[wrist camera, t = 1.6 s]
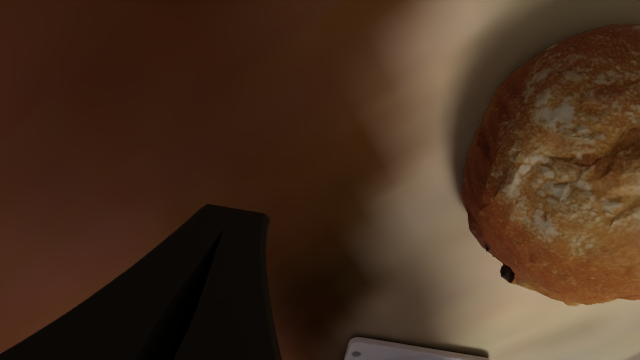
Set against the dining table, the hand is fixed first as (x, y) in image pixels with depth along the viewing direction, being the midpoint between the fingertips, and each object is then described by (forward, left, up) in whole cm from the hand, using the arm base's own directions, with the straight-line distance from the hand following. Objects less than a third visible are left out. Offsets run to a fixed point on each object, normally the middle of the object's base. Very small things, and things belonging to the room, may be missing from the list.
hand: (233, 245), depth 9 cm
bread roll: (0, -12, -9) cm, 15 cm away
